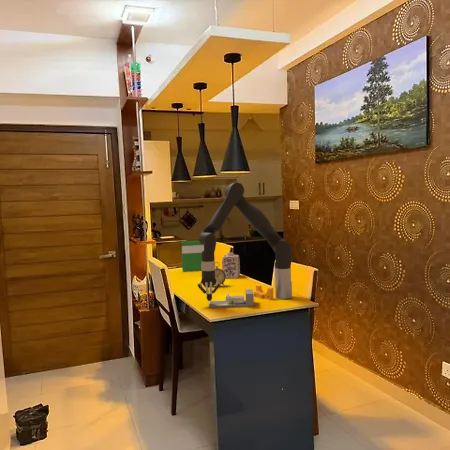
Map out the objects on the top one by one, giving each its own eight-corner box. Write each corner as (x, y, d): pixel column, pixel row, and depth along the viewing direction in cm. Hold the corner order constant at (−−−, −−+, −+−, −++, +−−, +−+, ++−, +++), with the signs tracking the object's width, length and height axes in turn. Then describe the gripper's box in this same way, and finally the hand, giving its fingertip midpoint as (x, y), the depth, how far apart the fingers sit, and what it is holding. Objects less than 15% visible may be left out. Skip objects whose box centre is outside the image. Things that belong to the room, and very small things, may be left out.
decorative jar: (222, 278, 302) (221, 253, 301) (224, 275, 314) (223, 251, 313) (238, 278, 301) (237, 253, 299) (240, 275, 312) (239, 251, 311)
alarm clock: (209, 287, 274) (208, 262, 273) (209, 285, 279) (209, 261, 278) (226, 286, 274) (225, 262, 273) (226, 285, 279) (225, 261, 278)
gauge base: (252, 301, 233) (252, 289, 232) (253, 306, 222) (253, 293, 221) (209, 302, 233) (209, 290, 233) (208, 308, 222) (208, 295, 222)
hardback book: (183, 272, 335) (181, 242, 333) (182, 270, 342) (181, 241, 340) (204, 270, 338) (203, 241, 336) (203, 269, 345) (202, 240, 343)
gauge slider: (244, 300, 230) (243, 293, 229) (244, 304, 222) (244, 297, 222) (225, 301, 230) (225, 294, 230) (225, 305, 222) (225, 297, 222)
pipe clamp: (253, 297, 244) (253, 286, 244) (259, 295, 247) (258, 284, 246) (267, 300, 235) (267, 289, 234) (273, 299, 237) (273, 288, 237)
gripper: (220, 267, 230) (221, 298, 231) (196, 268, 230) (197, 299, 231) (220, 270, 222) (221, 302, 224) (195, 270, 223) (196, 302, 224)
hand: (209, 300), depth 227 cm, fingers closed
